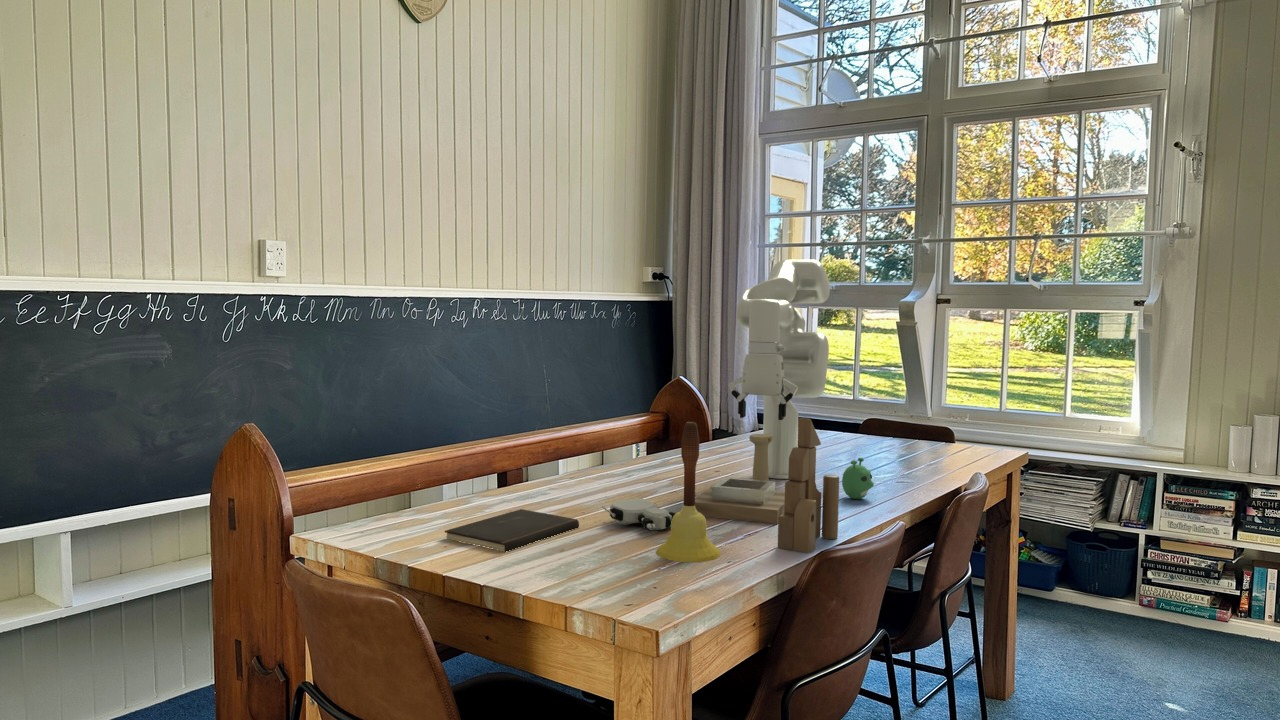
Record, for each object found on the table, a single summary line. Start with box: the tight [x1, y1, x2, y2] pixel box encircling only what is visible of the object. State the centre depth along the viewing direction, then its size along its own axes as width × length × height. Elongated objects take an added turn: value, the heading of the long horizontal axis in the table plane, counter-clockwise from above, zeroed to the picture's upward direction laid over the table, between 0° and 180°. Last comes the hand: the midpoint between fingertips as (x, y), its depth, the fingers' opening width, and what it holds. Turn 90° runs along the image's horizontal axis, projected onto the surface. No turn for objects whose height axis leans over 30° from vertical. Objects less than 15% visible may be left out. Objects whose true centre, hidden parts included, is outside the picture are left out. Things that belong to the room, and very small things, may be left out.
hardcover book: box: [444, 508, 580, 553], centre depth 180 cm, size 16×23×2 cm
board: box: [695, 486, 785, 525], centre depth 204 cm, size 20×20×3 cm
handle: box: [749, 433, 774, 481], centre depth 219 cm, size 5×6×15 cm
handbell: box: [655, 421, 722, 563], centre depth 167 cm, size 12×12×25 cm
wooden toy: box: [777, 417, 840, 554], centre depth 176 cm, size 15×7×25 cm, turn 145°
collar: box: [711, 477, 776, 505], centre depth 204 cm, size 12×12×3 cm
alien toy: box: [841, 457, 875, 500], centre depth 217 cm, size 7×8×10 cm
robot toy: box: [601, 497, 677, 532], centre depth 188 cm, size 12×4×15 cm
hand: (761, 418), depth 218 cm, fingers open, 9 cm apart
